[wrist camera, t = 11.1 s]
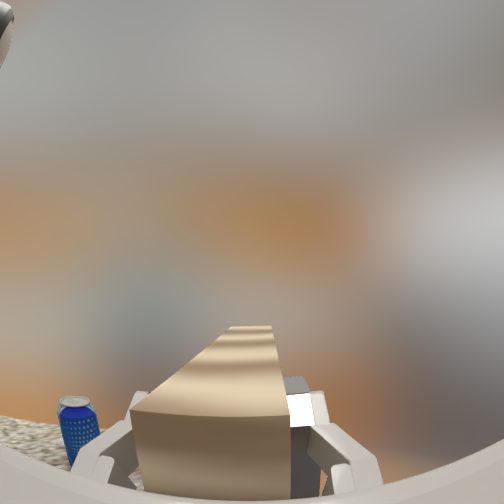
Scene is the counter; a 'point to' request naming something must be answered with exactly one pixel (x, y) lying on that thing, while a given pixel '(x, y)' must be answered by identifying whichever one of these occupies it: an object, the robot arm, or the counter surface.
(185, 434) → the maple bar
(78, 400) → the beer can
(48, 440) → the counter surface
